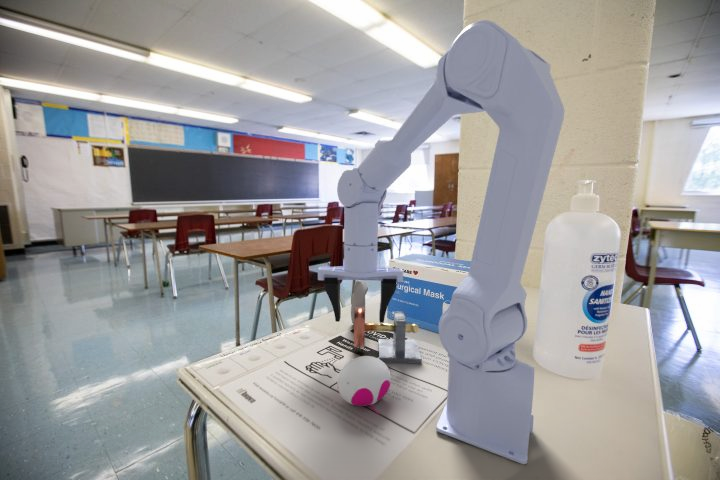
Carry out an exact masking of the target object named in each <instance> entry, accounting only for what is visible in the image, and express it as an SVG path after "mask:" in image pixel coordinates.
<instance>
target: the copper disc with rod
mask: <svg viewBox="0 0 720 480" xmlns="http://www.w3.org/2000/svg"><path fill="white" fill-rule="evenodd" d="M395 328H396V324H394V323H380V322H379V323H377V322H375V323H373V322H366V307H365V308H364V307H355V314H354V324H353V347H354V348H365V345H366V344H365V343H366V341H365V337H366V332H373V333H374V332H380V333H382V332H383V333H393V332H395ZM419 329H420V328H419V325H418V324H417V323H412V324H411V323H406V333H413V334H417V333H418V332H419Z"/></svg>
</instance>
